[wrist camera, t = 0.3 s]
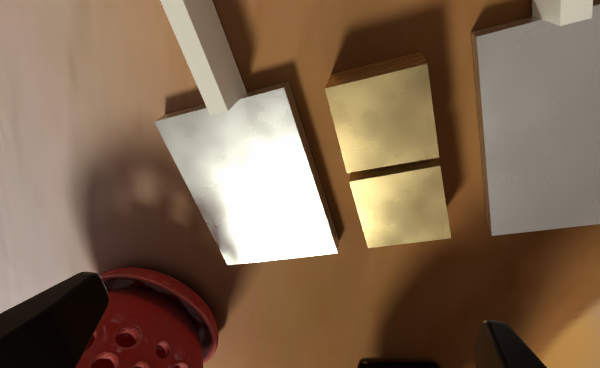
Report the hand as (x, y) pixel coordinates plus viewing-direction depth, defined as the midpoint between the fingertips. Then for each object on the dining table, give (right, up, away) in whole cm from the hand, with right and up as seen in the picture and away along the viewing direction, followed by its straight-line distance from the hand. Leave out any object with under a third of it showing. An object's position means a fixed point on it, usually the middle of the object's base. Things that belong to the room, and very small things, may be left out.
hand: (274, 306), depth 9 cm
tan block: (+6, +3, +13) cm, 15 cm away
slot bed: (+6, +4, +12) cm, 14 cm away
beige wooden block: (+5, +7, +11) cm, 14 cm away
